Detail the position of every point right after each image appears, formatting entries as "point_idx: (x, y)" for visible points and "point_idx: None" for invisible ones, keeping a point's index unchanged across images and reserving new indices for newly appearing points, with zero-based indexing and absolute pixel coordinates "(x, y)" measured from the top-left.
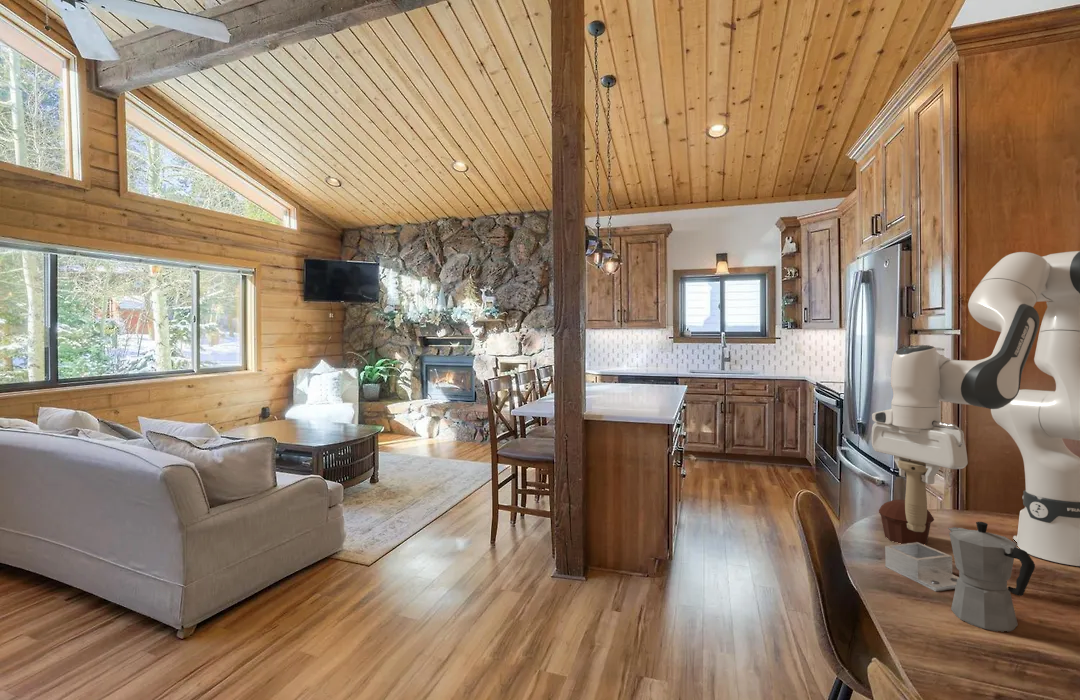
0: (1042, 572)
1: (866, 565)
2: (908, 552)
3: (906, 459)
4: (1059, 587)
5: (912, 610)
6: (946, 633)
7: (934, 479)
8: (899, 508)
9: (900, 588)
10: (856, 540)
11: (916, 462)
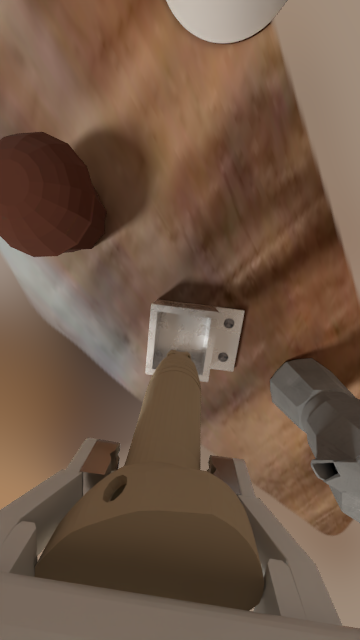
0: (262, 127)
1: (139, 378)
2: (157, 329)
3: (29, 544)
4: (304, 176)
5: (251, 436)
6: (297, 449)
7: (248, 474)
8: (35, 230)
9: (207, 399)
10: (55, 306)
11: (130, 562)
